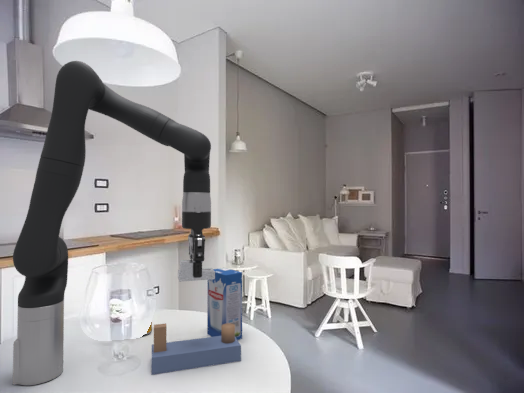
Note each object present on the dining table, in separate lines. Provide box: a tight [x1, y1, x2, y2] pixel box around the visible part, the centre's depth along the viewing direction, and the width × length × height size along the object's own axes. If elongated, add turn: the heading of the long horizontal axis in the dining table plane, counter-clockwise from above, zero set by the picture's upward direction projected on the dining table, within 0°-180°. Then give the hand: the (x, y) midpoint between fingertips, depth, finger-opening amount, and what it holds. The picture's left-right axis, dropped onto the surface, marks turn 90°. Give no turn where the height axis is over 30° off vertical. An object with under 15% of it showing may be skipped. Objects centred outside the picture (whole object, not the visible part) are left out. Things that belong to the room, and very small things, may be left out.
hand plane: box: [150, 322, 242, 376], centre depth 86 cm, size 22×8×10 cm, turn 108°
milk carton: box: [206, 267, 243, 341], centre depth 102 cm, size 10×6×20 cm, turn 41°
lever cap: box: [177, 259, 215, 282], centre depth 87 cm, size 9×5×4 cm, turn 108°
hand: (196, 274), depth 87 cm, fingers closed on lever cap, 5 cm apart
